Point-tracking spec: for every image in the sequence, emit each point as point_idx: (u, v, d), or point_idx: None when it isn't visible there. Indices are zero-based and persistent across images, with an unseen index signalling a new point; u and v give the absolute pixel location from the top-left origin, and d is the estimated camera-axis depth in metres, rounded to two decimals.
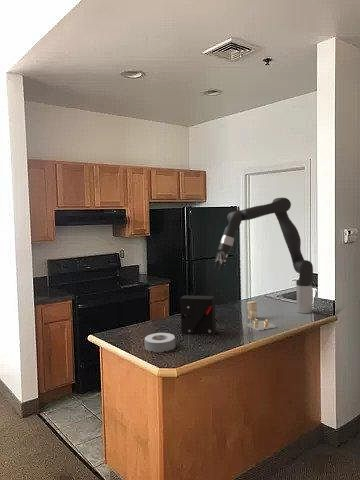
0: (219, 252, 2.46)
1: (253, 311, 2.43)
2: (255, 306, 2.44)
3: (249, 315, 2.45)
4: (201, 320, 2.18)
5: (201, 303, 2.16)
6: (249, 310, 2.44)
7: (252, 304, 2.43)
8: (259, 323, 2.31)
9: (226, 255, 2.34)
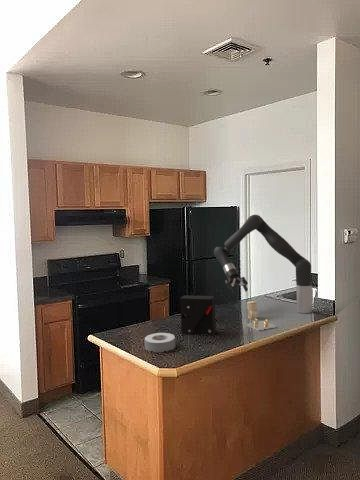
0: None
1: (253, 311, 2.43)
2: (255, 306, 2.44)
3: (249, 315, 2.45)
4: (201, 320, 2.18)
5: (201, 303, 2.16)
6: (249, 310, 2.44)
7: (252, 304, 2.43)
8: (259, 323, 2.31)
9: (225, 281, 2.58)
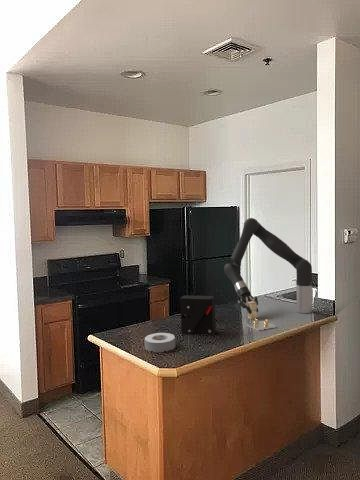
0: None
1: (253, 311, 2.43)
2: (255, 306, 2.44)
3: (249, 315, 2.45)
4: (201, 320, 2.18)
5: (201, 303, 2.16)
6: None
7: (252, 304, 2.43)
8: (259, 323, 2.31)
9: (238, 301, 2.46)
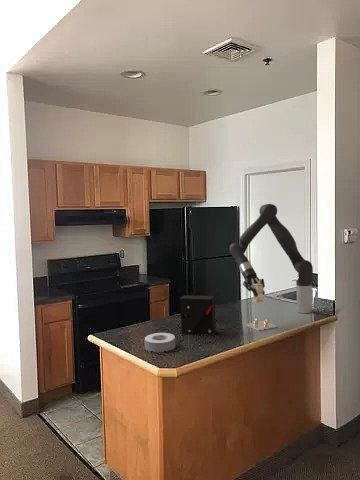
0: None
1: (259, 294, 2.27)
2: (261, 288, 2.27)
3: (255, 298, 2.29)
4: (201, 320, 2.18)
5: (201, 303, 2.16)
6: None
7: (258, 286, 2.27)
8: (259, 323, 2.31)
9: (243, 283, 2.30)
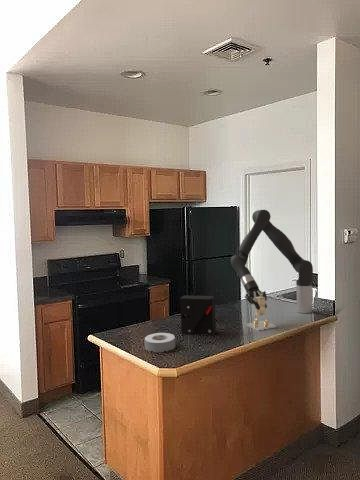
0: None
1: (261, 307, 2.25)
2: (264, 301, 2.26)
3: (257, 311, 2.27)
4: (201, 320, 2.18)
5: (201, 303, 2.16)
6: None
7: (260, 299, 2.25)
8: (259, 323, 2.31)
9: (245, 296, 2.28)
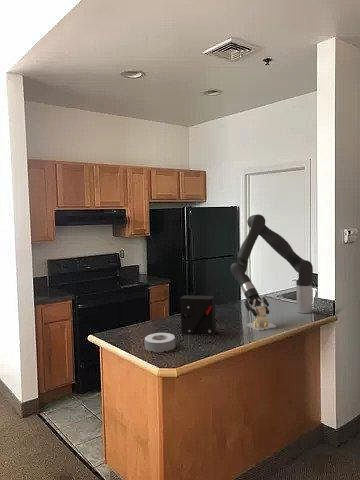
0: None
1: (262, 317, 2.26)
2: (264, 312, 2.26)
3: (258, 321, 2.27)
4: (201, 320, 2.18)
5: (201, 303, 2.16)
6: (258, 316, 2.27)
7: (261, 309, 2.25)
8: None
9: (244, 302, 2.29)
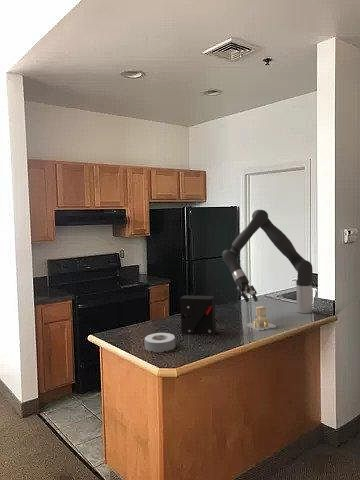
0: (249, 287, 2.47)
1: (262, 317, 2.26)
2: (264, 312, 2.26)
3: (258, 321, 2.27)
4: (201, 320, 2.18)
5: (201, 303, 2.16)
6: (258, 316, 2.27)
7: (261, 309, 2.25)
8: None
9: (237, 287, 2.38)
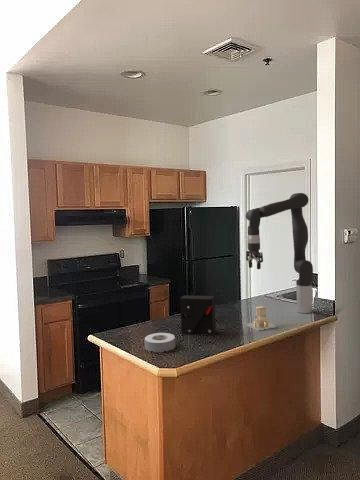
0: (248, 251, 2.51)
1: (262, 317, 2.26)
2: (264, 312, 2.26)
3: (258, 321, 2.27)
4: (201, 320, 2.18)
5: (201, 303, 2.16)
6: (258, 316, 2.27)
7: (261, 309, 2.25)
8: None
9: (260, 253, 2.40)
